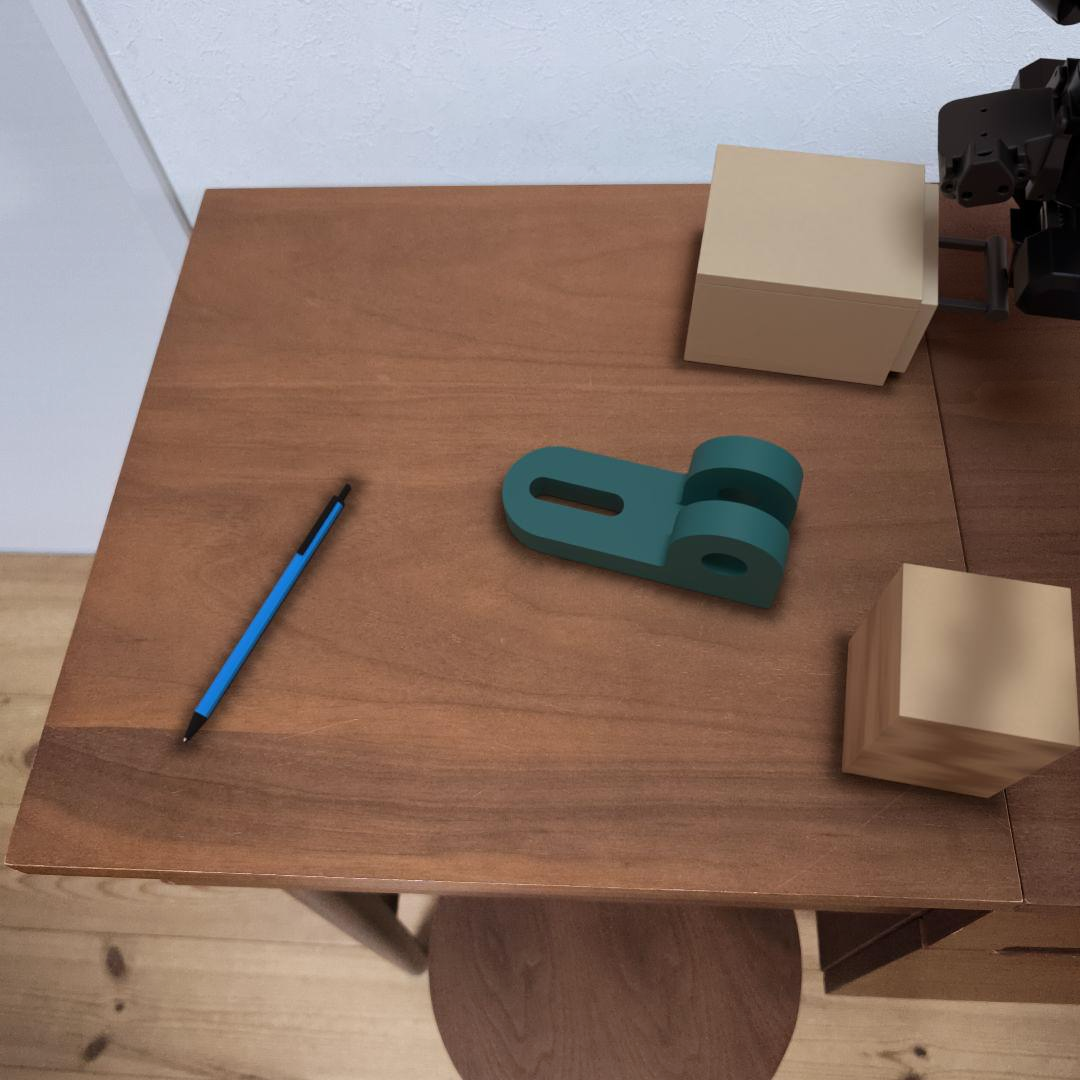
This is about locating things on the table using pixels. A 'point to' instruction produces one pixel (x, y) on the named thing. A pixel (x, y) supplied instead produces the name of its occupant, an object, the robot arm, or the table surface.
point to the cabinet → (808, 264)
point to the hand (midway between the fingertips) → (1015, 284)
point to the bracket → (665, 515)
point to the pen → (266, 613)
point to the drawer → (993, 279)
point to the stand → (961, 682)
